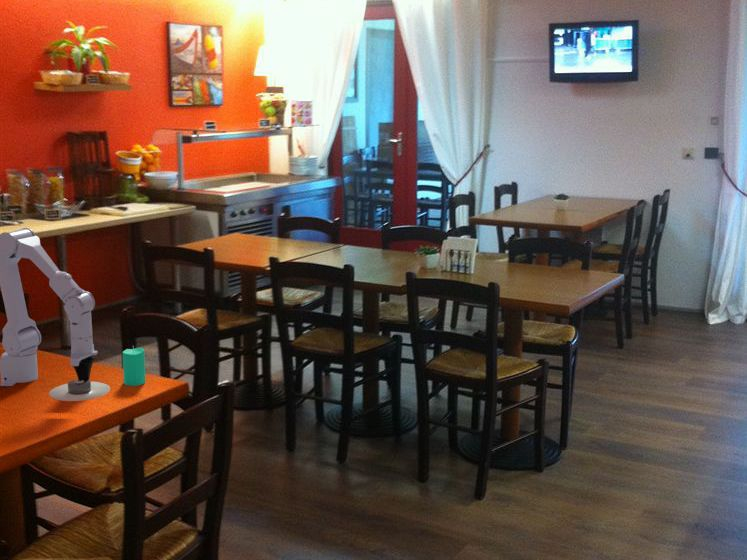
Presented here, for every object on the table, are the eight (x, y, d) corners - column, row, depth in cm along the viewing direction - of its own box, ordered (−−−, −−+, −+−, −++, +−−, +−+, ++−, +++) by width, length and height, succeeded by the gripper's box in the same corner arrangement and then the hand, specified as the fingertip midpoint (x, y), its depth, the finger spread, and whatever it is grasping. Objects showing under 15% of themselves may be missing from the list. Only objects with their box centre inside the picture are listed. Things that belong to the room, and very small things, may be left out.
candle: (148, 383, 258) (147, 343, 255) (141, 390, 252) (139, 349, 249) (128, 382, 258) (126, 342, 256) (120, 389, 253) (118, 348, 250)
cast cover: (65, 394, 244) (64, 384, 243) (72, 387, 250) (71, 377, 249) (87, 394, 244) (86, 384, 243) (93, 387, 250) (93, 377, 249)
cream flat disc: (40, 404, 239) (40, 400, 239) (61, 385, 255) (60, 381, 255) (100, 405, 240) (100, 401, 239) (117, 385, 255) (117, 381, 255)
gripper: (87, 343, 241) (90, 392, 244) (103, 329, 255) (106, 375, 258) (61, 343, 241) (64, 391, 244) (78, 329, 255) (81, 374, 258)
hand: (84, 383), depth 251 cm, fingers closed
